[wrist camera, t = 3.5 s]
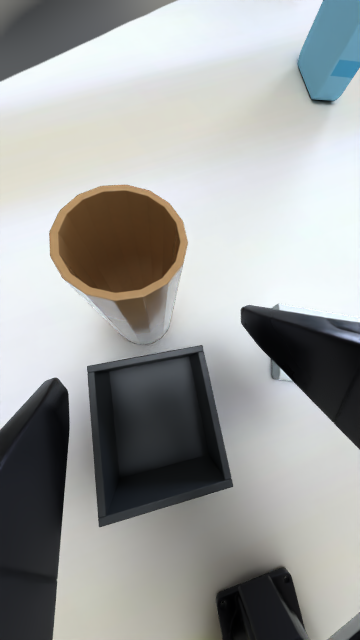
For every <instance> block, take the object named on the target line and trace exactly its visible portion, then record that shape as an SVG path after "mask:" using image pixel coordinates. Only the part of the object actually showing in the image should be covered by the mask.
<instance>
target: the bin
mask: <svg viewBox="0 0 360 640" xmlns="http://www.w3.org/2000/svg"><path fill="white" fill-rule="evenodd" d="M87 372H88V385H89V399H90V412H91V426H92V440H93V453H94V467H95V480H96V494H97V507H98V518H99V519H98V521H99V527H102V526H106V525H109V524H112V523H115V522H119V521H122V520H125V519H129V518H132V517H135V516H138V515H142V514H145V513H148V512H152V511H155V510H158V509H161V508H165V507H168V506H171V505H174V504H178V503H181V502H184V501H188V500H191V499H194V498H197V497H201V496H204V495H207V494H211V493H214V492H217V491H220V490H224V489H227V488H230V487H233V483H232V479H231V474H230V469H229V465H228V460H227V455H226V451H225V446H224V442H223V437H222V433H221V428H220V424H219V419H218V414H217V410H216V405H215V401H214V396H213V392H212V387H211V383H210V378H209V373H208V369H207V364H206V360H205V355H204V351H203V346H202V345H200V346H195V347H189V348H184V349H178V350H173V351H167V352H162V353H156V354H151V355H146V356H140V357H135V358H129V359H124V360H118V361H113V362H107V363H102V364H96V365H91V366H87Z"/></svg>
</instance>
